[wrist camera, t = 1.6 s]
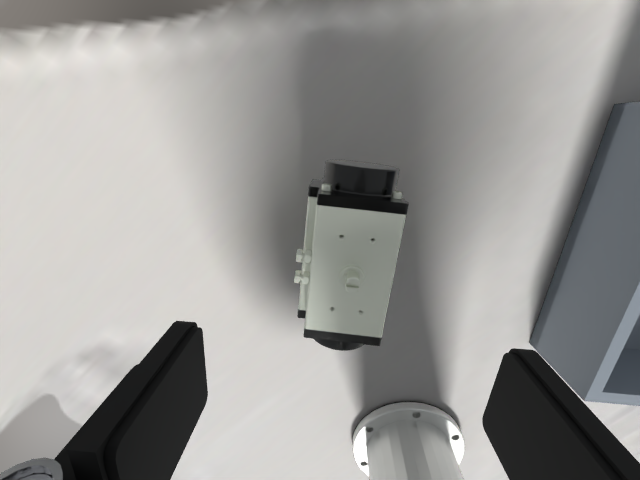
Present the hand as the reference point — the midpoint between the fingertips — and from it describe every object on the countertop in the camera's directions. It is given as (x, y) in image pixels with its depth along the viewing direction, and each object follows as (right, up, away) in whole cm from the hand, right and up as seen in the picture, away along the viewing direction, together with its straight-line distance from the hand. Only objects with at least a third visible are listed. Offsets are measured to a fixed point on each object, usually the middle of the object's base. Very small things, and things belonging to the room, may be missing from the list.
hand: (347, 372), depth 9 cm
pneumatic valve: (+1, +6, +18) cm, 19 cm away
